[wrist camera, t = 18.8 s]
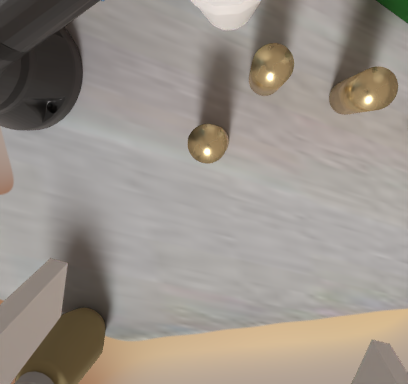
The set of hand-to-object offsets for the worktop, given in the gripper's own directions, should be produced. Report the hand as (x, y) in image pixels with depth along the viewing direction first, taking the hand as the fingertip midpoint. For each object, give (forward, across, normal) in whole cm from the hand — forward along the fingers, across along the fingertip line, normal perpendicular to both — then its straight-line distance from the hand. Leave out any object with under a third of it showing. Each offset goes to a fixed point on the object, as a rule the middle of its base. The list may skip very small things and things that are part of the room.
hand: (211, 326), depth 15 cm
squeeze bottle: (+29, -14, -27) cm, 42 cm away
